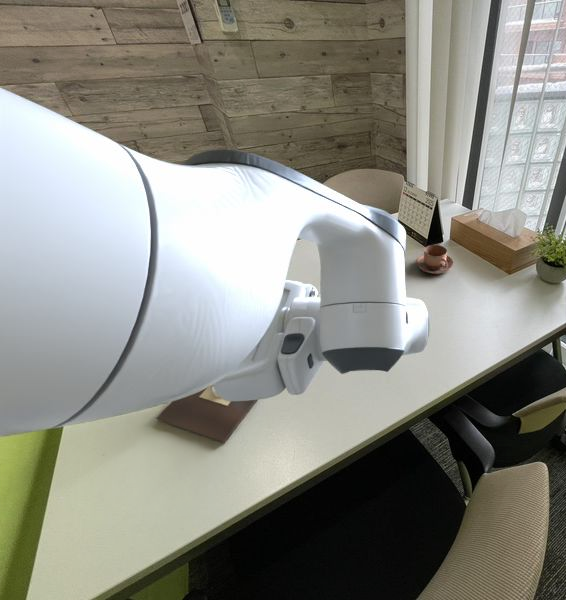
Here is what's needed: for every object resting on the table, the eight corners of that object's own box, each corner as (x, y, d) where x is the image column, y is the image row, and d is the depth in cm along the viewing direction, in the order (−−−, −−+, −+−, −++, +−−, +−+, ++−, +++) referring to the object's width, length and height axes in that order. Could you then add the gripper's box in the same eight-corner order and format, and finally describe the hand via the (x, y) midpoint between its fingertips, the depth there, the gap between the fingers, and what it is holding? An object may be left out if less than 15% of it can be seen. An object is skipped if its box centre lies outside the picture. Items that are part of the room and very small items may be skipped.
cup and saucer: (459, 265, 108) (461, 249, 104) (439, 281, 101) (441, 264, 97) (429, 253, 114) (430, 238, 110) (409, 268, 107) (409, 251, 103)
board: (224, 444, 60) (222, 441, 60) (157, 420, 64) (155, 418, 63) (285, 364, 75) (284, 361, 74) (227, 348, 79) (226, 346, 78)
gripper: (317, 268, 51) (227, 270, 50) (288, 372, 35) (155, 376, 34) (322, 300, 55) (239, 302, 54) (299, 406, 39) (180, 411, 38)
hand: (206, 332), depth 44 cm, fingers open, 8 cm apart
